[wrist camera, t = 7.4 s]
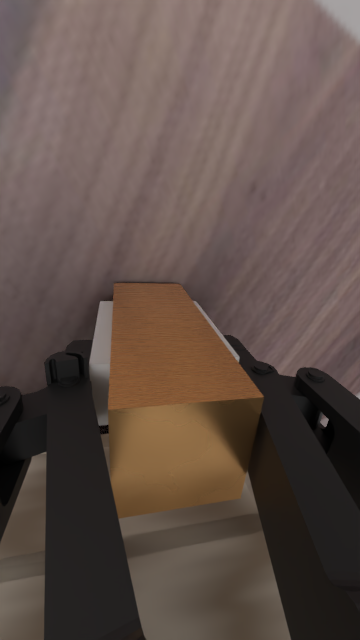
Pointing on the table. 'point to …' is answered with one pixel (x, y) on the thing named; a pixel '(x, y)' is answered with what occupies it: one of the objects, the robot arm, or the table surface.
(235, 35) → the table surface
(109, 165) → the table surface
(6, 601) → the wooden shelf
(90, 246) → the table surface
